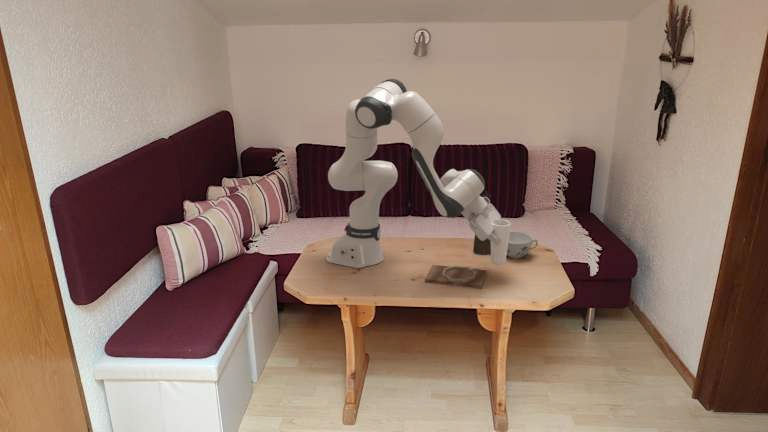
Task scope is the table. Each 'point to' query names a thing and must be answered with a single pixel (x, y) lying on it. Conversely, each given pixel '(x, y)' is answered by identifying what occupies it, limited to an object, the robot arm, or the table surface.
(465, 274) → the walnut board
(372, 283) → the table surface
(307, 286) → the table surface
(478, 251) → the statue
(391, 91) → the robot arm
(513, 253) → the teacup
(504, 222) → the drinking glass
